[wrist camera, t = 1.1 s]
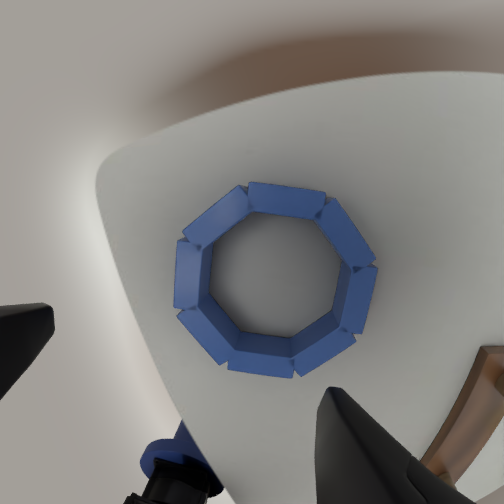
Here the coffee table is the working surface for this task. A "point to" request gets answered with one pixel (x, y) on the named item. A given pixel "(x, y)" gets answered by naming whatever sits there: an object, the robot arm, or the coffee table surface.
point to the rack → (470, 418)
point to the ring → (263, 346)
